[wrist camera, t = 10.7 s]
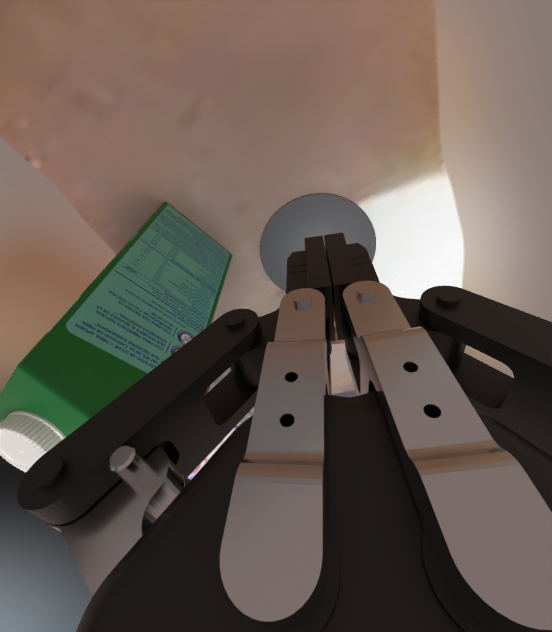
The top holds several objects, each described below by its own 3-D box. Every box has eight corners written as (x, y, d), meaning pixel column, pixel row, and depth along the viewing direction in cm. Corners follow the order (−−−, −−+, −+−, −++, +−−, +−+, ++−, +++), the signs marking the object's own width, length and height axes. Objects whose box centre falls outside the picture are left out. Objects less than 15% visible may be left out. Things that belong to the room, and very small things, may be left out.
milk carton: (165, 200, 32) (-22, 407, 13) (233, 255, 36) (165, 478, 17) (126, 255, 37) (-57, 471, 17) (190, 299, 40) (97, 516, 21)
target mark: (271, 303, 40) (271, 304, 40) (248, 204, 32) (248, 205, 32) (374, 291, 38) (374, 292, 38) (377, 183, 30) (377, 184, 30)
